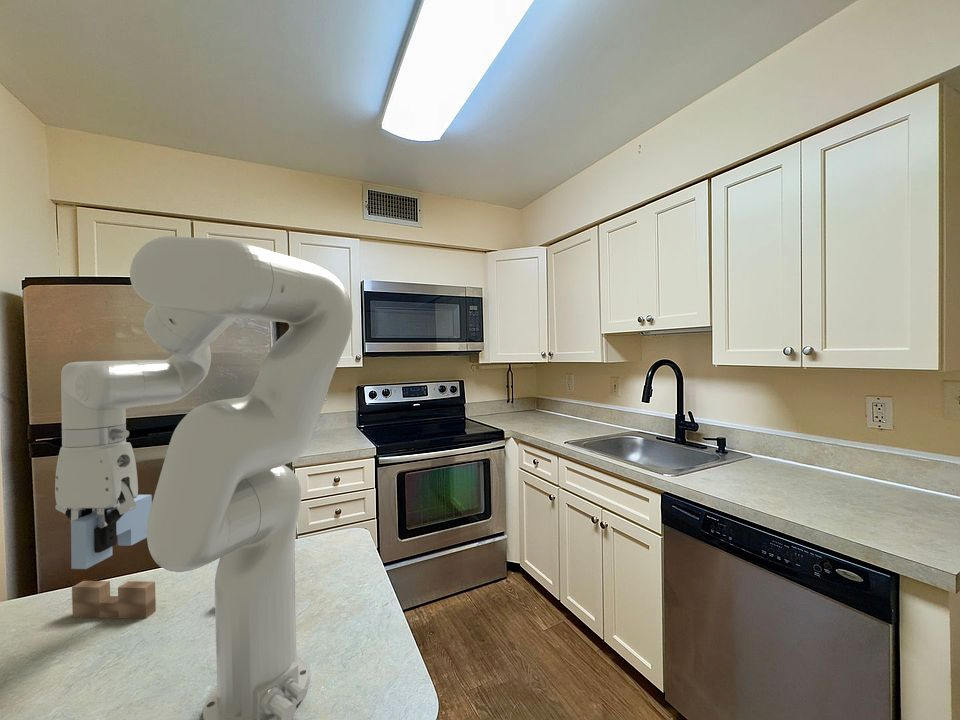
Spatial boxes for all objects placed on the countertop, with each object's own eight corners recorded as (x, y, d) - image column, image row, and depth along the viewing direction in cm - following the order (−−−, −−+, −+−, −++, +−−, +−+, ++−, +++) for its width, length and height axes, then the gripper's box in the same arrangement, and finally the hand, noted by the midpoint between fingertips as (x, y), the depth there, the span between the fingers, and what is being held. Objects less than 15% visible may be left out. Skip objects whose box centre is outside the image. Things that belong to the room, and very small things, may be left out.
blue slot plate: (139, 534, 74) (139, 494, 74) (152, 534, 74) (151, 494, 74) (71, 568, 62) (71, 521, 62) (86, 569, 62) (85, 521, 62)
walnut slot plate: (155, 611, 74) (155, 581, 73) (146, 618, 72) (145, 587, 71) (84, 610, 74) (83, 580, 74) (72, 617, 72) (71, 587, 72)
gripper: (162, 432, 68) (163, 538, 69) (72, 431, 69) (73, 537, 69) (121, 442, 61) (122, 561, 61) (20, 441, 61) (22, 559, 62)
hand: (96, 547), depth 65 cm, fingers closed on blue slot plate, 2 cm apart
